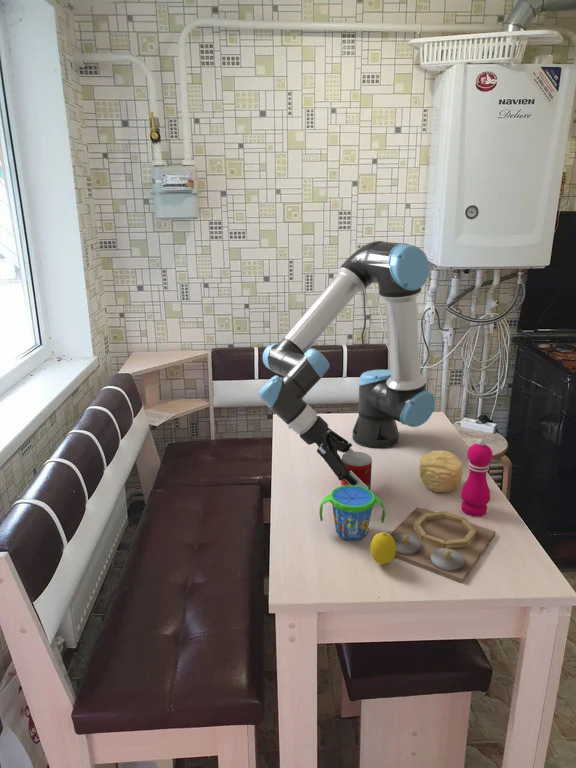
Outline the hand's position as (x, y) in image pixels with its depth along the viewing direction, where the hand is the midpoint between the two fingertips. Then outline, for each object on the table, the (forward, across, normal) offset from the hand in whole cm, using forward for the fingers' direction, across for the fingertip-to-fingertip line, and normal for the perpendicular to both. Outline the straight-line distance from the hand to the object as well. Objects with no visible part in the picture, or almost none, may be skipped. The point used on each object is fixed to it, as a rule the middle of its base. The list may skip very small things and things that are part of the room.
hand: (364, 478), depth 158 cm
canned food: (+2, 0, -5) cm, 5 cm away
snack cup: (+1, +19, -6) cm, 20 cm away
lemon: (+6, +31, -1) cm, 31 cm away
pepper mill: (+23, +6, +16) cm, 29 cm away
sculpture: (+18, -6, +11) cm, 23 cm away
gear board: (+15, +21, +9) cm, 27 cm away
